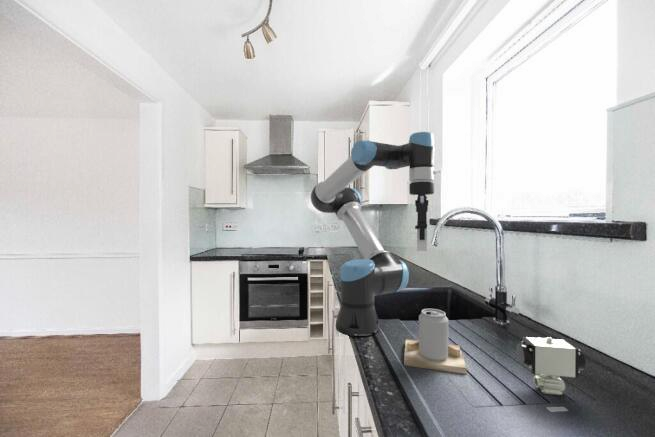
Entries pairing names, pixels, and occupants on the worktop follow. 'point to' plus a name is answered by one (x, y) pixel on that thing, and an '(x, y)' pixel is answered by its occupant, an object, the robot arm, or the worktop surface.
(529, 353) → the pneumatic valve
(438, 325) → the can
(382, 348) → the worktop surface
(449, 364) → the v block
